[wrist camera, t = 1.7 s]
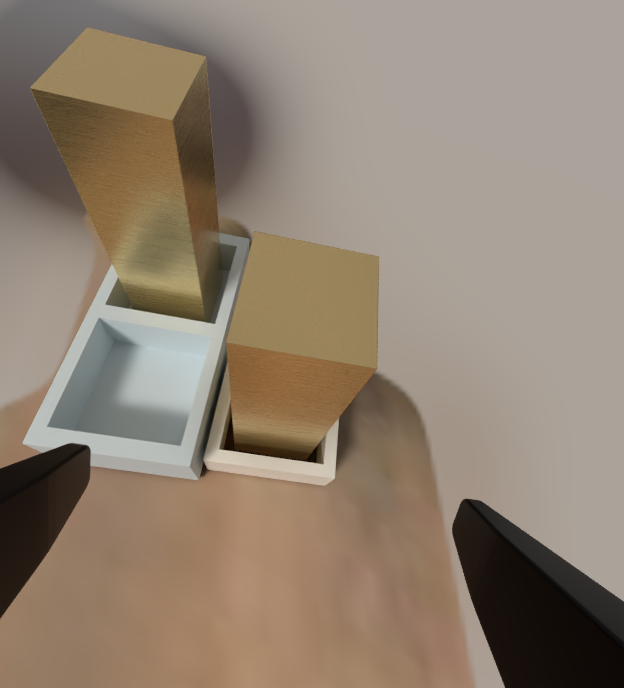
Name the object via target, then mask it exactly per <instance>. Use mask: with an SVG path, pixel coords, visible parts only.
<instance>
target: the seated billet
mask: <svg viewBox="0 0 624 688" xmlns="http://www.w3.org/2000/svg"><path fill="white" fill-rule="evenodd" d="M30 89H31V91H32V94H33V95H34V98H35V100H36V102H37V104H38V106H39V109H40V111H41V113H42V115H43V117H44V119H45V121H46V124H47V126H48V128H49V130H50V132H51V134H52V136H53V138H54V141H55V143H56V145H57V147H58V149H59V151H60V153H61V156H62V158H63V160H64V162H65V164H66V166H67V168H68V170H69V173H70V175H71V177H72V179H73V181H74V183H75V186H76V187H77V190H78V192H79V194H80V196H81V198H82V201H83V203H84V205H85V206H86V209H87V211H88V213H89V216H90V218H91V220H92V222H93V224H94V226H95V228H96V231H97V233H98V235H99V237H100V239H101V241H102V243H103V245H104V248H105V250H106V252H107V254H108V256H109V258H110V260H111V263H112V265H113V267H114V269H115V271H116V273H117V275H118V278H119V280H120V282H121V284H122V286H123V288H124V290H125V293H126V295H127V297H128V299H129V301H130V303H131V305H132V308H133V310H138V311H144V312H150V313H155V314H161V315H167V316H172V317H178V318H184V319H189V320H195V321H201V322H206V323H210V322H211V318H212V315H213V312H214V308H215V305H216V301H217V298H218V294H219V291H220V288H221V284H222V281H223V278H222V265H221V251H220V238H219V224H218V211H217V198H216V185H215V170H214V157H213V144H212V131H211V117H210V104H209V90H208V76H207V63H206V57H205V56H201V55H197V54H193V53H189V52H185V51H181V50H177V49H173V48H169V47H164V46H161V45H156V44H152V43H148V42H144V41H140V40H136V39H132V38H128V37H124V36H120V35H116V34H112V33H107V32H104V31H100V30H96V29H91V28H86V30H85V31H84V32H83V33H82V34H81V35H80V36H79V37H78V38H77V39H76V40H75V41H74V42H73V43H72V44H71V45H70V46H69V47H68V48H67V50H66V51H65V52H64V53H63V54H62V55H61V56H60V57H59V58H58V59H57V60H56V61H55V62H54V63H53V64H52V65H51V66H50V67H49V68H48V70H47V71H46V72H45V73H44V74H43V75H42V76H41V77H40V78H39V79H38V80H37V81H36V82H35V83H34V84H33V85H32V86H31V87H30Z"/></svg>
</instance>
